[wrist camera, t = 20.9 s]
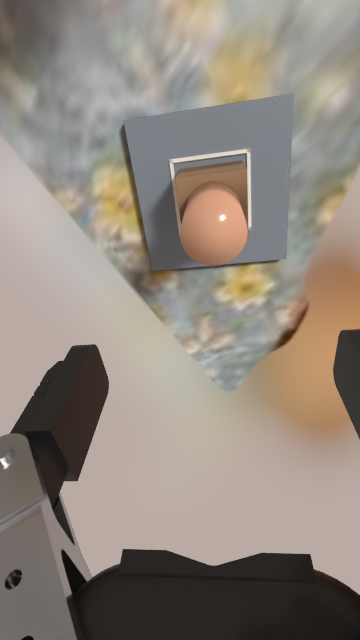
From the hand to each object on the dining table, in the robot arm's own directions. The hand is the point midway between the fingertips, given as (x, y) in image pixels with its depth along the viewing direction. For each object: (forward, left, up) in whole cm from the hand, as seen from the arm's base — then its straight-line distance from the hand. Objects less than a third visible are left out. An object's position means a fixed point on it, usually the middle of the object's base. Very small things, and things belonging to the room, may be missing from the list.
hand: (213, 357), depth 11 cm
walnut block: (0, 0, -23) cm, 23 cm away
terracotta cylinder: (0, 0, -18) cm, 18 cm away
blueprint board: (0, 0, -24) cm, 24 cm away
